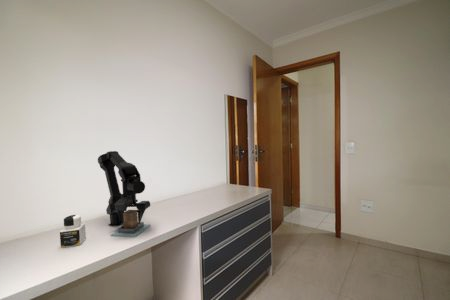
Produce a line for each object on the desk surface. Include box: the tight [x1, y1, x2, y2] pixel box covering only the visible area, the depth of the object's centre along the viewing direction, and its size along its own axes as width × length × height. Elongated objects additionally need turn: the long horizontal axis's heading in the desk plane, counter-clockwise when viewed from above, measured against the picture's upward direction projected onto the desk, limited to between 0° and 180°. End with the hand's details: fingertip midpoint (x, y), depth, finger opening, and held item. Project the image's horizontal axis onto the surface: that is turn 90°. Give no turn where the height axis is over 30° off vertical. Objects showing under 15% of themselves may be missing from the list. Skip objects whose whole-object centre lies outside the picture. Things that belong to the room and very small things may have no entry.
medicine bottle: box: [59, 214, 87, 249], centre depth 91 cm, size 7×7×12 cm
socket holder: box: [109, 221, 151, 238], centre depth 102 cm, size 13×13×3 cm
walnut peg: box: [123, 209, 138, 228], centre depth 102 cm, size 4×4×9 cm
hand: (130, 222), depth 102 cm, fingers open, 9 cm apart
